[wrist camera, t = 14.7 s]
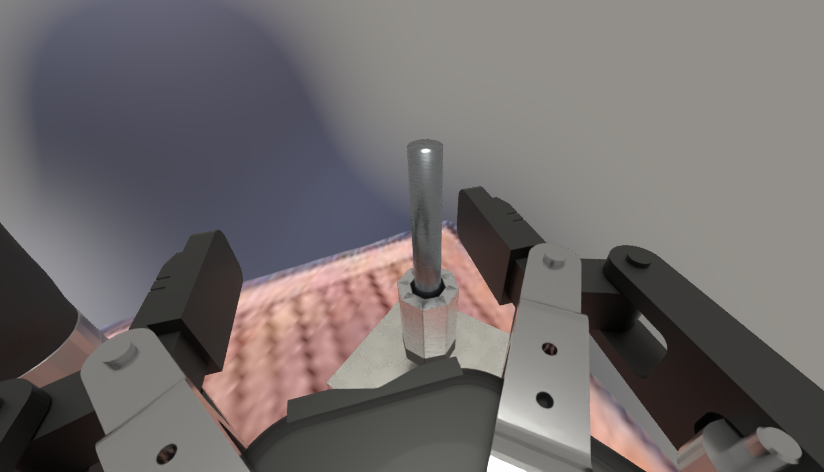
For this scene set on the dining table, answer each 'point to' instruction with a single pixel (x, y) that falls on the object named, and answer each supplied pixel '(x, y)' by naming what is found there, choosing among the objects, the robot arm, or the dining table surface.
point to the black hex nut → (422, 361)
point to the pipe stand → (421, 291)
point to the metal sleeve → (428, 316)
